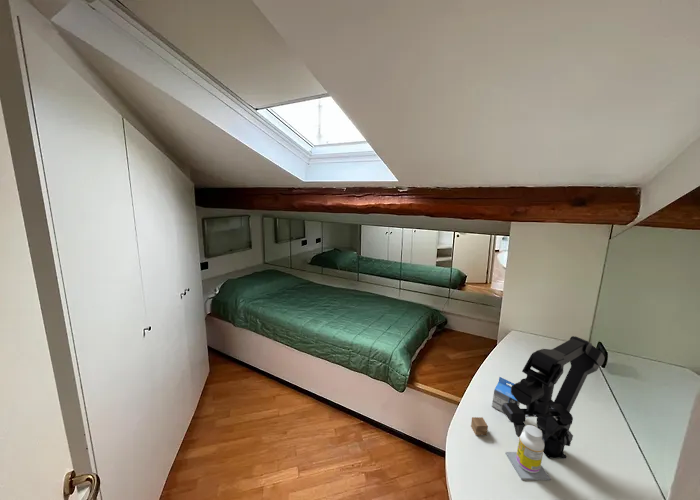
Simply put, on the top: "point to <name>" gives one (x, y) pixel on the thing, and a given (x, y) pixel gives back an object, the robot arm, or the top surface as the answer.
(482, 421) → the walnut block
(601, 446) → the top surface
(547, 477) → the slate pad
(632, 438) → the top surface
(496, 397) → the label tape cartridge
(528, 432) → the supplement bottle
